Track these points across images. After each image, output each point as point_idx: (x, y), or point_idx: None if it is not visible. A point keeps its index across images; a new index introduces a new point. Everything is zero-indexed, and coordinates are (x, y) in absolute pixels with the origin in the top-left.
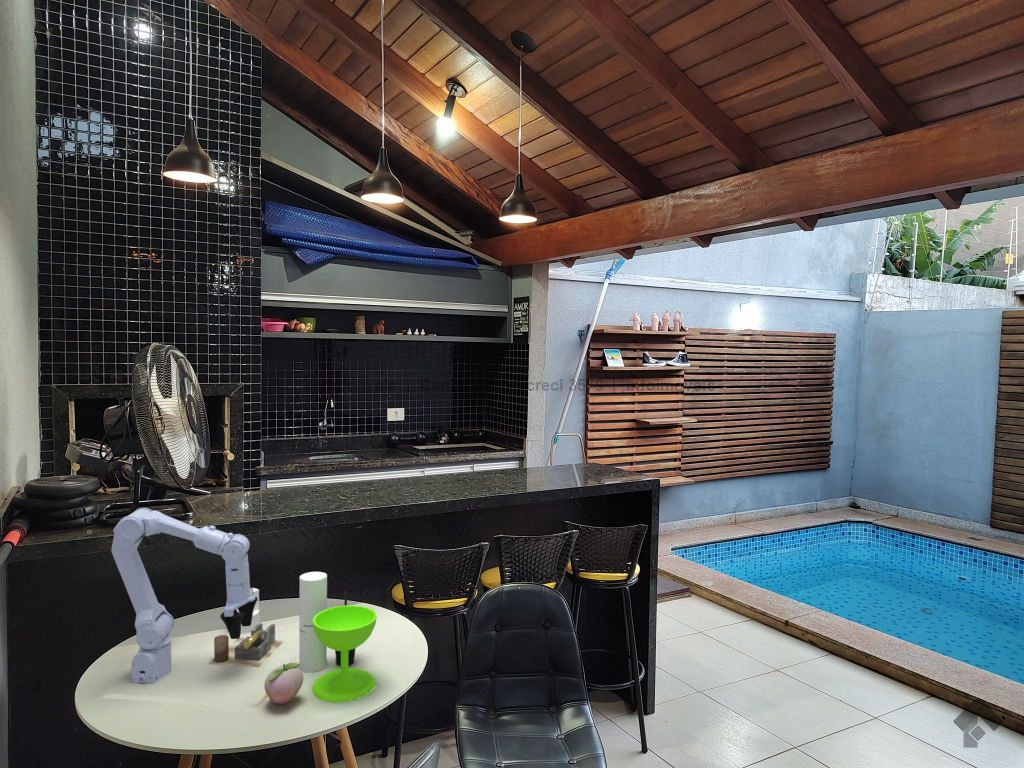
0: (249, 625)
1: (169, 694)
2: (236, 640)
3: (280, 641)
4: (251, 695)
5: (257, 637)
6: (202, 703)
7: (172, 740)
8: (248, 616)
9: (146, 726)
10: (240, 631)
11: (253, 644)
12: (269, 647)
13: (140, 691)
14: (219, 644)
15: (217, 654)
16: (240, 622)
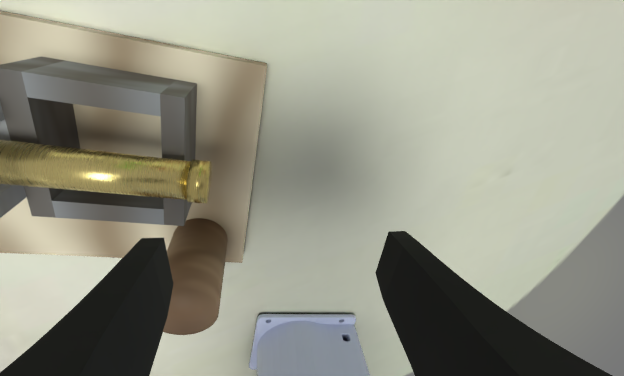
0: (162, 243)
1: None
2: (11, 249)
3: None
4: (467, 34)
5: (67, 151)
6: (465, 185)
7: (618, 185)
8: (128, 326)
9: (525, 259)
10: (421, 261)
11: None
12: (52, 62)
13: (363, 333)
14: (220, 292)
15: (224, 264)
16: (535, 344)
